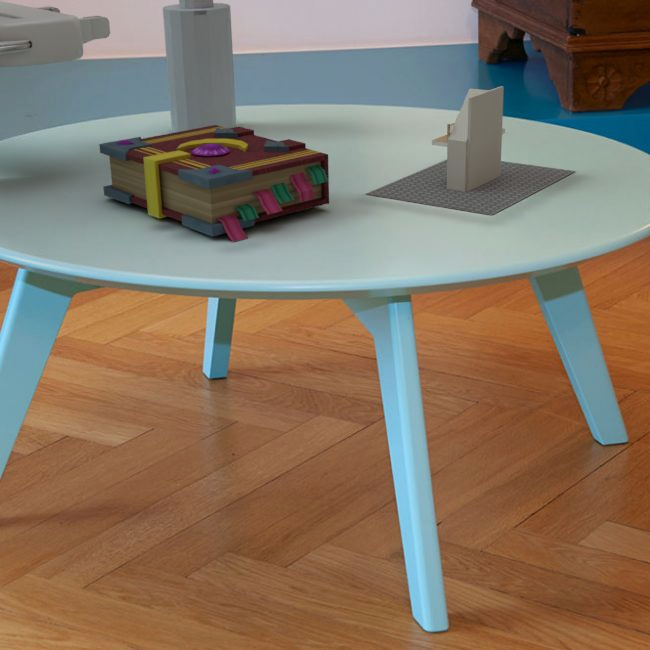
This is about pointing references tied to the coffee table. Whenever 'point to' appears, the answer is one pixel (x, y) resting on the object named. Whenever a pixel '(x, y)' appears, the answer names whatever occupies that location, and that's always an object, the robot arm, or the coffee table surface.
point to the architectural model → (474, 164)
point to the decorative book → (217, 177)
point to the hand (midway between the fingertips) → (80, 21)
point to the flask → (199, 64)
